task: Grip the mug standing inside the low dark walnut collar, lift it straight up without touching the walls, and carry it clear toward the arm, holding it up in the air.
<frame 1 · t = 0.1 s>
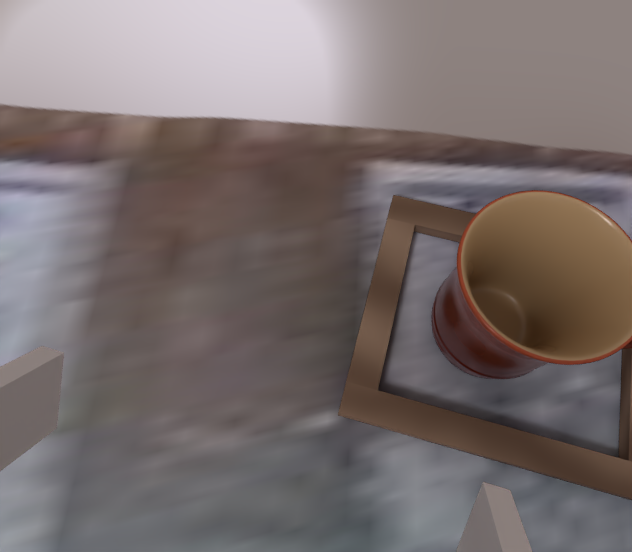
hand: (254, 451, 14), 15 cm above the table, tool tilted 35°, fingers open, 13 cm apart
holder: (505, 334, 31), on the table
mug: (504, 335, 31), resting in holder
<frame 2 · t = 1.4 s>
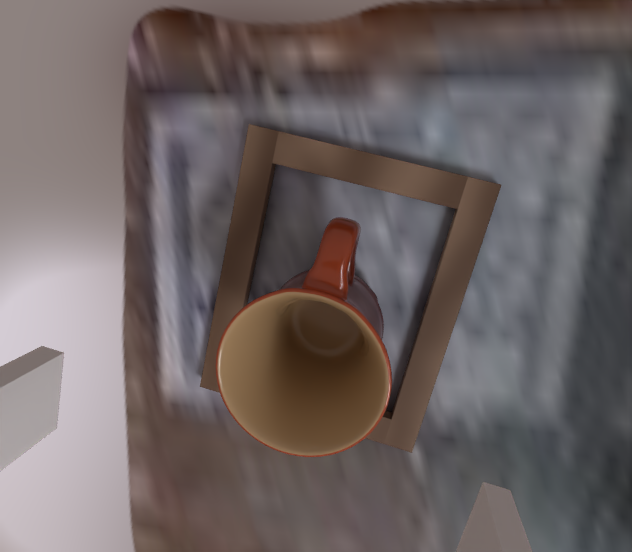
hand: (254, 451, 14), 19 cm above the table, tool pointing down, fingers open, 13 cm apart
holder: (336, 292, 32), on the table
mug: (336, 291, 32), resting in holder
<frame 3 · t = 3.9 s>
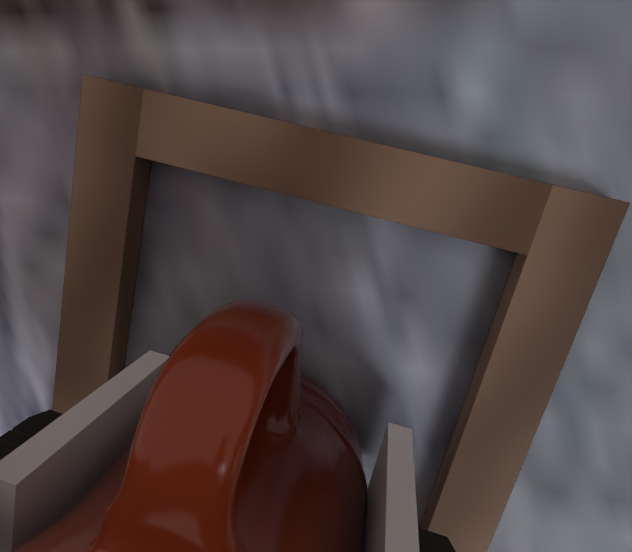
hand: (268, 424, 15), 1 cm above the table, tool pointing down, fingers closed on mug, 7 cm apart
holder: (278, 406, 16), on the table
mug: (279, 404, 17), resting in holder, touching gripper
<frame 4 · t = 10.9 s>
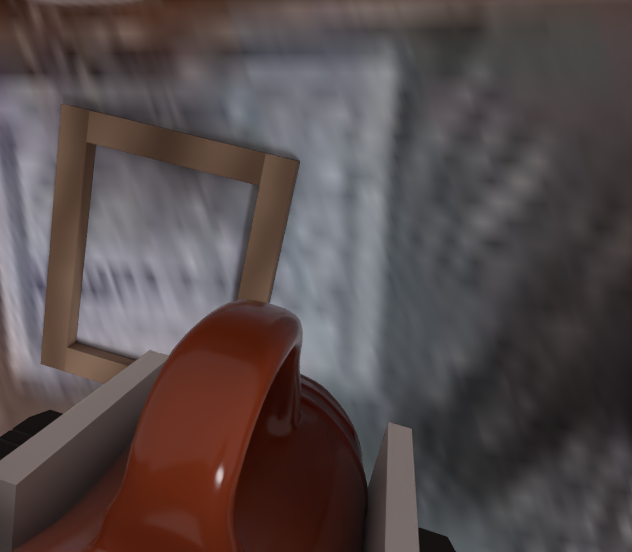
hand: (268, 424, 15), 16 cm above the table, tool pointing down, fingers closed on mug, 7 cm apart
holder: (162, 270, 32), on the table
mug: (279, 403, 17), point 15 cm above the table, touching gripper
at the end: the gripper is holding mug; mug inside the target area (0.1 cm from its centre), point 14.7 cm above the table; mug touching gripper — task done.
